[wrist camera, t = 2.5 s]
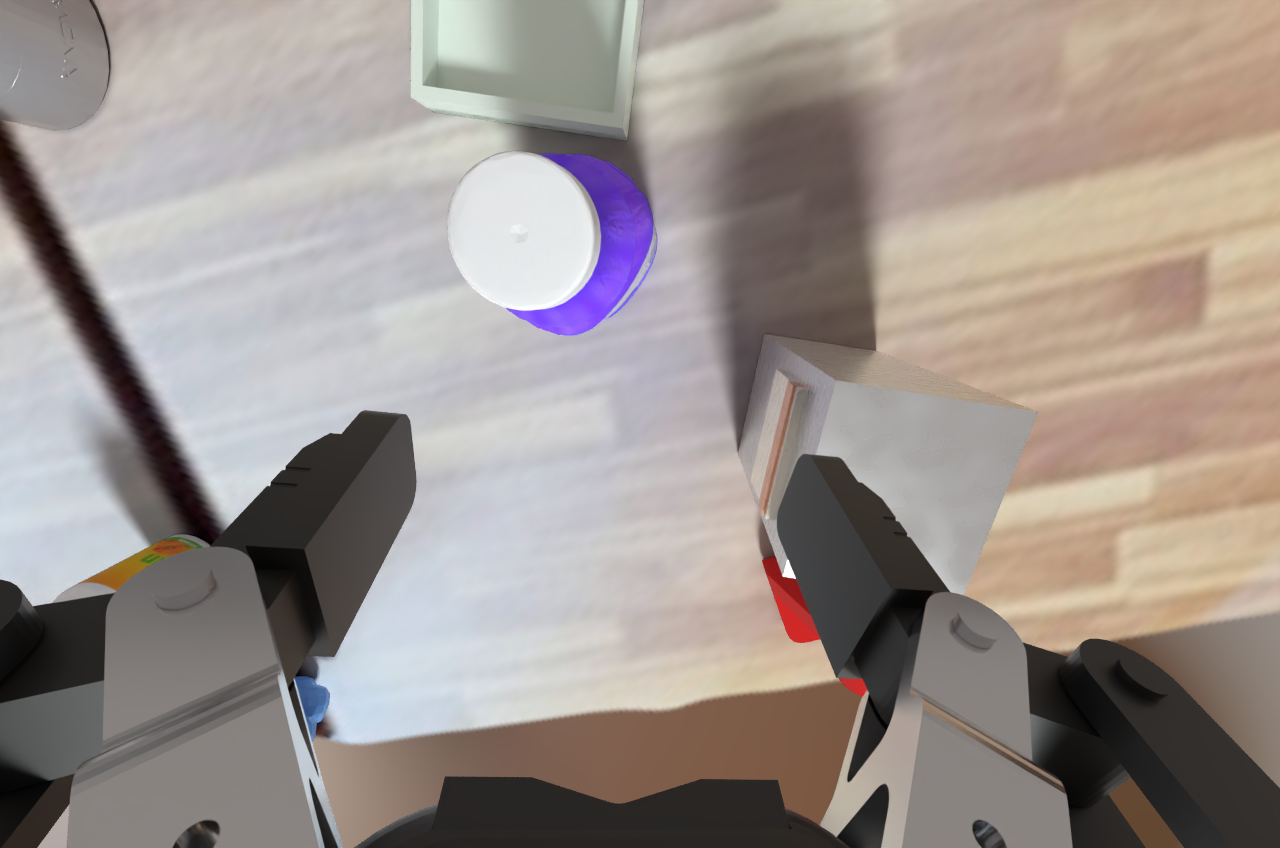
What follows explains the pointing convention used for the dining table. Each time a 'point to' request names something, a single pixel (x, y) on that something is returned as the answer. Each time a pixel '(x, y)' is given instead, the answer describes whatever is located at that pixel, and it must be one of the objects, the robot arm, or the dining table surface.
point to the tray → (528, 61)
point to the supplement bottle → (130, 567)
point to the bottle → (552, 237)
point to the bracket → (798, 614)
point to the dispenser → (885, 443)
